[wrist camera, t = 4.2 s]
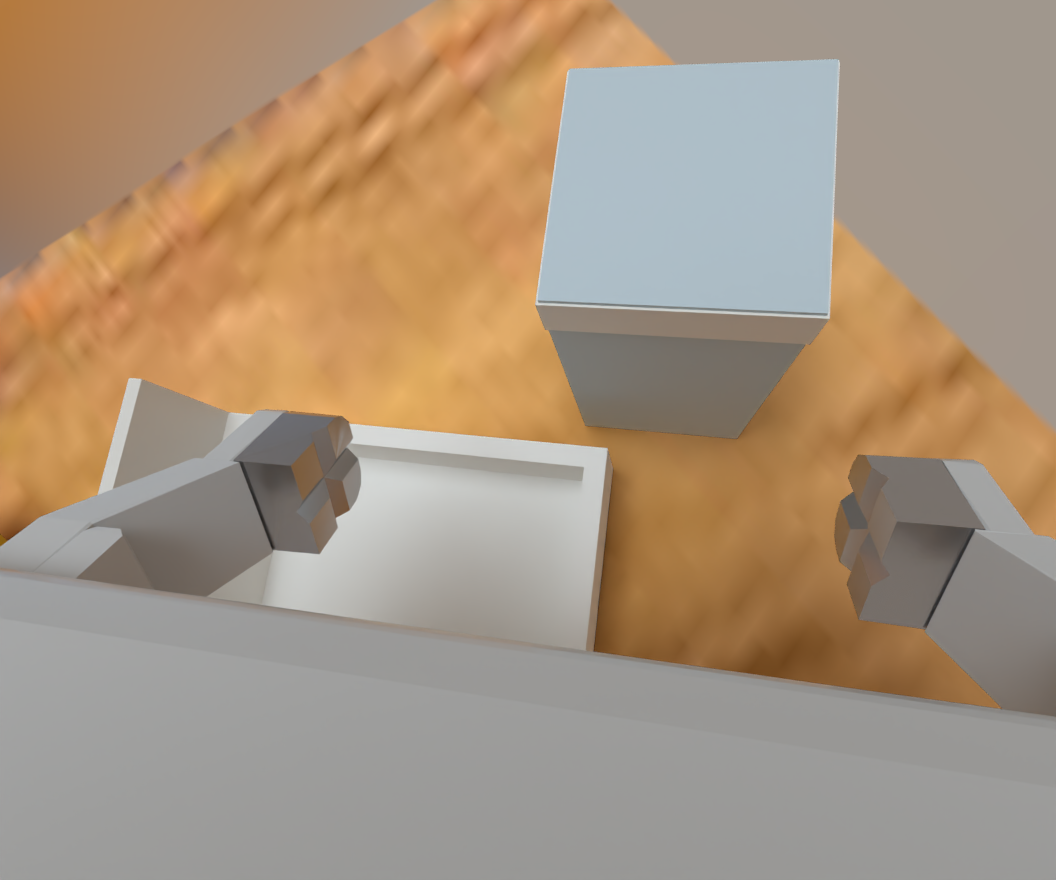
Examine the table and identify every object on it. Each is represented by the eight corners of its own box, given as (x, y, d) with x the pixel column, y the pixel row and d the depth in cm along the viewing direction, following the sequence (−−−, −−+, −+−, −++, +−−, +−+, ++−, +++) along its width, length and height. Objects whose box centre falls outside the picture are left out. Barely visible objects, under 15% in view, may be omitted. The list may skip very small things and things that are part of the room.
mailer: (574, 832, 18) (534, 988, 11) (213, 750, 21) (6, 837, 14) (613, 468, 20) (599, 417, 13) (280, 434, 23) (129, 377, 16)
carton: (738, 440, 20) (831, 315, 10) (584, 426, 21) (534, 302, 11) (747, 296, 21) (841, 57, 11) (599, 290, 22) (566, 66, 12)
